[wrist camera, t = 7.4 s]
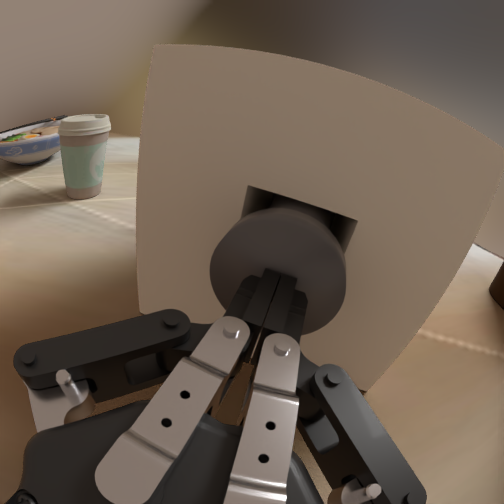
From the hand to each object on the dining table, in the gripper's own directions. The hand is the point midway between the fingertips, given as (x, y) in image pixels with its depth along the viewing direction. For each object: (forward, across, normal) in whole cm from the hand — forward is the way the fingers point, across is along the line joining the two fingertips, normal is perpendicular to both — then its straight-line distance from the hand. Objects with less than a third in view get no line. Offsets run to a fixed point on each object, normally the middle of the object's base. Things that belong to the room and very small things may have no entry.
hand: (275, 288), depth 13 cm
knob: (+4, 0, +3) cm, 5 cm away
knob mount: (+10, 0, +10) cm, 14 cm away
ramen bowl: (+26, +59, +10) cm, 65 cm away
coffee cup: (+19, +33, +10) cm, 39 cm away
